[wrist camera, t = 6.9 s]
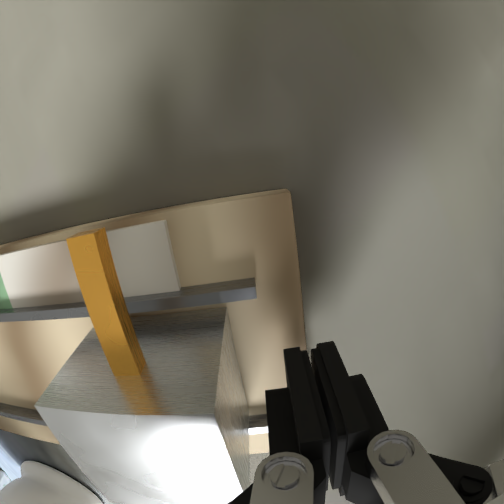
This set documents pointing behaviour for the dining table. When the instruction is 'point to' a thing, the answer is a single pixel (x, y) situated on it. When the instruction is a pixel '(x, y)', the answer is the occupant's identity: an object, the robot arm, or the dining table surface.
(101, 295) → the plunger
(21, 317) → the gauge hardware
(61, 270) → the gauge board
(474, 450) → the dining table surface
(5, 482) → the syrup box
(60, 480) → the jar
